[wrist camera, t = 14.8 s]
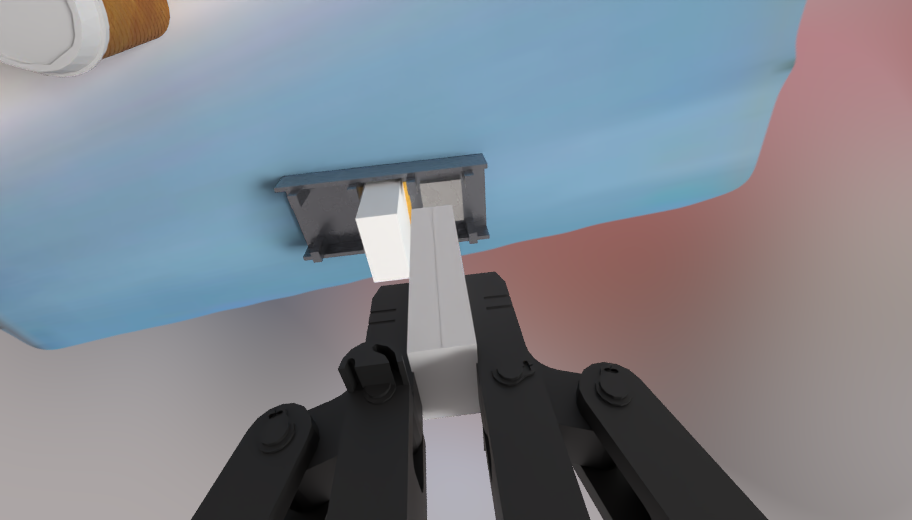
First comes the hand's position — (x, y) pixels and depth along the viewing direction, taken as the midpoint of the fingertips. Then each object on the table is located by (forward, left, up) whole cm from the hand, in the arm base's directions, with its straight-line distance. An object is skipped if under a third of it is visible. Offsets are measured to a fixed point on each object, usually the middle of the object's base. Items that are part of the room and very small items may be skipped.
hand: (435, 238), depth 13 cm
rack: (-6, -12, -29) cm, 32 cm away
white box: (-6, -12, -28) cm, 31 cm away
